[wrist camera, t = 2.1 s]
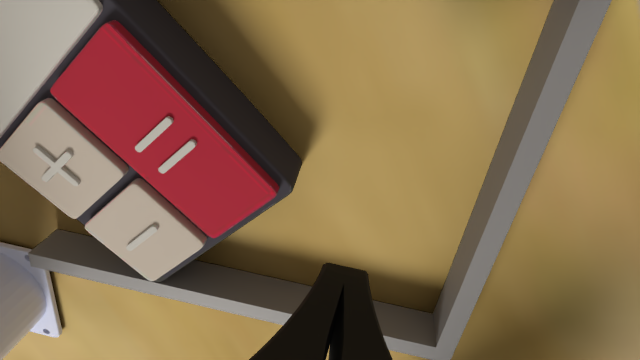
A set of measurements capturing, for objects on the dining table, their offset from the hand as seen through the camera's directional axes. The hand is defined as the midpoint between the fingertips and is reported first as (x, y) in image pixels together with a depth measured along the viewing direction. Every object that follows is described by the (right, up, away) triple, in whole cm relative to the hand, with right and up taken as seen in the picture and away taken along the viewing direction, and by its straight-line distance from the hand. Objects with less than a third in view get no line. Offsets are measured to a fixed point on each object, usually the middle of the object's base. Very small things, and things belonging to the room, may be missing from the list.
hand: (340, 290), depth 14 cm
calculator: (-10, +7, +10) cm, 16 cm away
